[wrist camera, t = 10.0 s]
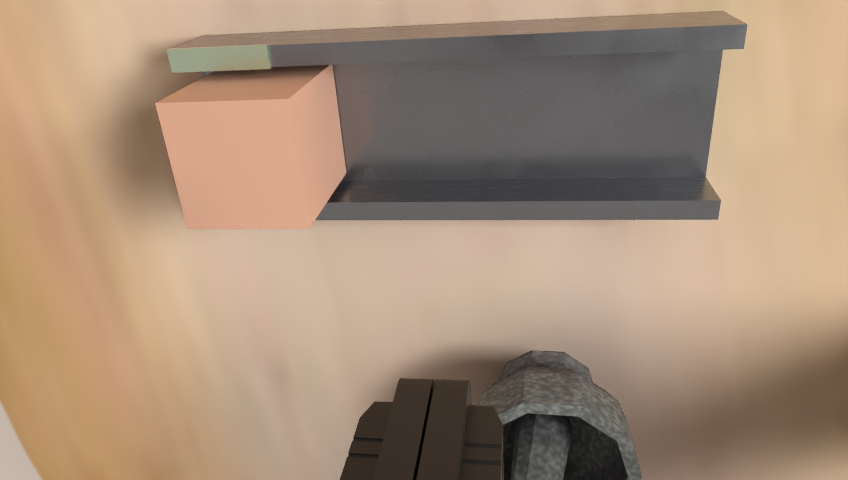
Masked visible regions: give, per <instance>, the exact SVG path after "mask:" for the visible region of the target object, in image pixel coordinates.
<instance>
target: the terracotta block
mask: <svg viewBox="0 0 848 480" xmlns="http://www.w3.org/2000/svg"><path fill="white" fill-rule="evenodd" d="M155 105H156V109H157V113H158V117H159V121H160V124H161V128H162V132H163V136H164V140H165V144H166V148H167V152H168V156H169V160H170V164H171V168H172V172H173V175H174V179H175V183H176V187H177V191H178V195H179V199H180V203H181V207H182V211H183V215H184V219H185V223H186V227H187V229H309V228H310V227H311V225H312V224H313V222H314V221H315V219H316V218H317V216H318V215H319V213H320V212H321V210H322V209H323V207H324V206H325V204H326V203H327V201H328V200H329V198H330V197H331V195H332V194H333V192H334V191H335V189H336V188H337V186H338V185H339V183H340V182H341V180H342V179H343V177H344V176H345V174H346V166H345V158H344V150H343V142H342V135H341V127H340V119H339V111H338V103H337V95H336V88H335V80H334V72H333V65H311V66H285V67H272V68H271V69H258V70H232V71H214V72H212V73H210V74H208V75H206V76H204V77H203V78H201V79H199V80H197V81H195V82H193V83H191V84H190V85H188V86H186V87H184V88H182V89H180V90H178V91H177V92H175V93H173V94H171V95H169V96H167V97H165V98H164V99H162V100H160V101H158V102H156V103H155Z"/></svg>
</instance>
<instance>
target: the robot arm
mask: <svg viewBox="0 0 848 480" xmlns="http://www.w3.org/2000/svg"><path fill="white" fill-rule="evenodd" d="M340 480H504V465H503V424H502V422H501V420H500V418H499V416H498V414H497V412H496V410H495V408H494V406H473V405H472V404H471V384H470V381H467V380H439V379H436V381H434V379H407V378H400V380H399V382H398V385H397V389H396V393H395V397H394V400H393V402H374V403H373V404H372V405H371V406H370V407H369V408H368V410H367V411H366V412H365V413H364V414H363V415H362V416H361V417H360V419H359V422H358V425H357V428H356V431H355V435H354V440H353V441H352V444H351V447H350V450H349V456H348V457H347V459H346V462H345V466H344V469H343V472H342V475H341V478H340Z"/></svg>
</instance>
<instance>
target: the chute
mask: <svg viewBox="0 0 848 480" xmlns="http://www.w3.org/2000/svg"><path fill="white" fill-rule="evenodd" d="M746 30H747V24H746V23H744V22H742V21H741V20H739V19H737V18H735V17H733V16H731V15H729V14H728V13H726V12H724V11H713V12H691V13H670V14H649V15H628V16H607V17H586V18H565V19H543V20H522V21H501V22H480V23H459V24H438V25H417V26H395V27H374V28H353V29H332V30H311V31H290V32H269V33H247V34H226V35H205V36H201V37H198V38H196V39H194V40H191V41H189V42H186V43H184V44H181V45H179V46H176V47H174V48H172V49H166V51H167V55H168V59H169V64H170V68H171V72H172V73H180V72H204V76H206V75H208V74H210V73H212V72H214V71H232V70H258V69H271V68H272V67H285V66H311V65H333V72H334V80H335V88H336V95H337V103H338V111H339V119H340V127H341V135H342V142H343V150H344V158H345V166H346V174H345V176H344V177H343V179H342V180H341V182H340V183H339V185H338V186H337V188H336V189H335V191H334V192H333V194H332V195H331V197H330V198H329V200H328V201H327V203H326V204H325V206H324V207H323V209H322V210H321V212H320V213H319V215H318V216H317V218H316V219H315V220H711V219H718V216H719V209H720V203H721V200H720V198H719V197H718V195H717V194H716V192H715V191H714V189H713V188H712V186H711V185H710V183H709V182H708V180H707V178H706V169H707V162H708V155H709V147H710V140H711V133H712V125H713V118H714V111H715V103H716V96H717V89H718V81H719V74H720V67H721V59H722V52H723V49H744V43H745V36H746Z"/></svg>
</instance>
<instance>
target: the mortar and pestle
mask: <svg viewBox="0 0 848 480" xmlns="http://www.w3.org/2000/svg"><path fill="white" fill-rule="evenodd" d="M478 406H494V408H495V410H496V412H497V414H498V416H499V418H500V420H501V422H502V424H503V465H504V480H641V478H642V477H641V472H640V467H639V462H638V458H637V454H636V451H635V447H634V444H633V441H632V437H631V434H630V431H629V427H628V424H627V421H626V418H625V415H624V413H623V411H622V408H621V406H620V404H619V402H618V401H617V400H616V399H615V398H614V397H612V396H611V395H610V394H609V393H607V392H606V391H605V390H603V389H602V388H600V387H599V386H597V385H596V384H594V383H593V382H592V378H591V375H590V372H589V369H588V368H587V367H586V366H584V365H583V364H581V363H580V362H578V361H577V360H575V359H574V358H572V357H570V356H569V355H567V354H566V353H564V352H551V351H530V352H528V353H527V354H525V355H523V356H521V357H519V358H517V359H515V360H513V361H511V362H509V363H507V364H506V367H505V369H504V371H503V373H502V376H501V378H500V380H499V382H497V383H495V384H493V385H492V386H491V387H490V388H489V389H488V390H486V391H485V392H484V393H483V395H482V397H481V400H480V402H479V404H478Z"/></svg>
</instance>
